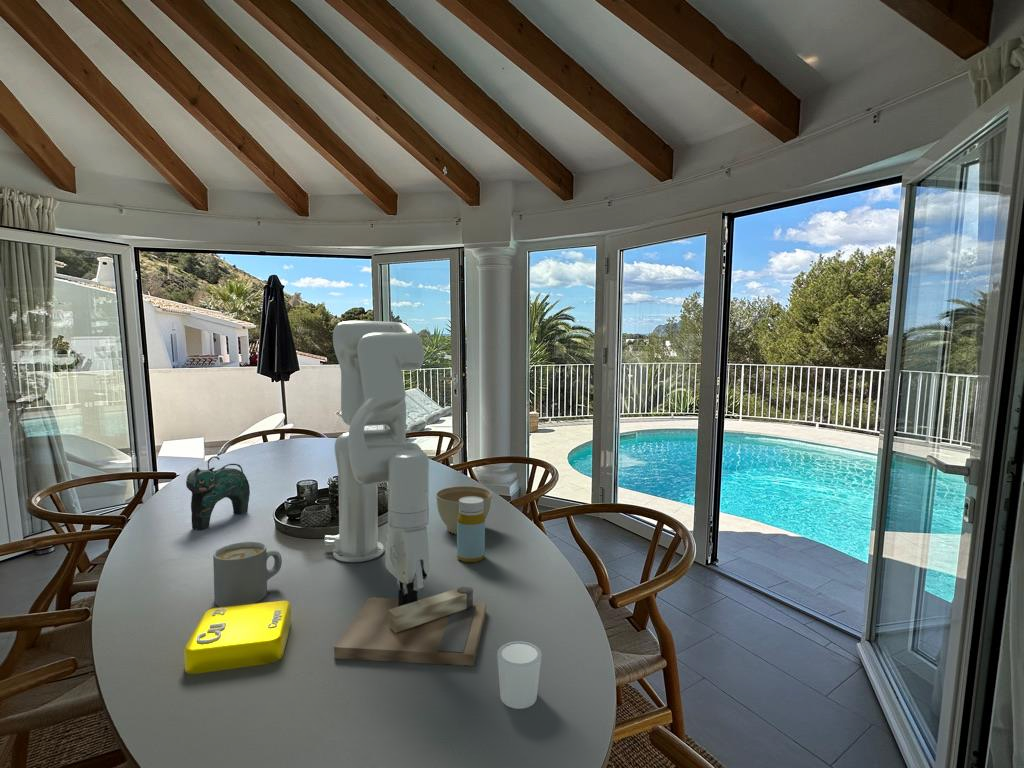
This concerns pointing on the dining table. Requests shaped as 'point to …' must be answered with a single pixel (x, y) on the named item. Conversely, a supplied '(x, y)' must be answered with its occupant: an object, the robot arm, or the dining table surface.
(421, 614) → the folding leg
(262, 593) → the coffee mug
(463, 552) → the bottle
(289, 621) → the element tile
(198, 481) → the ceramic cat
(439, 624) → the stool seat
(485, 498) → the planter bowl
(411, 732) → the dining table surface
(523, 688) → the shot glass
